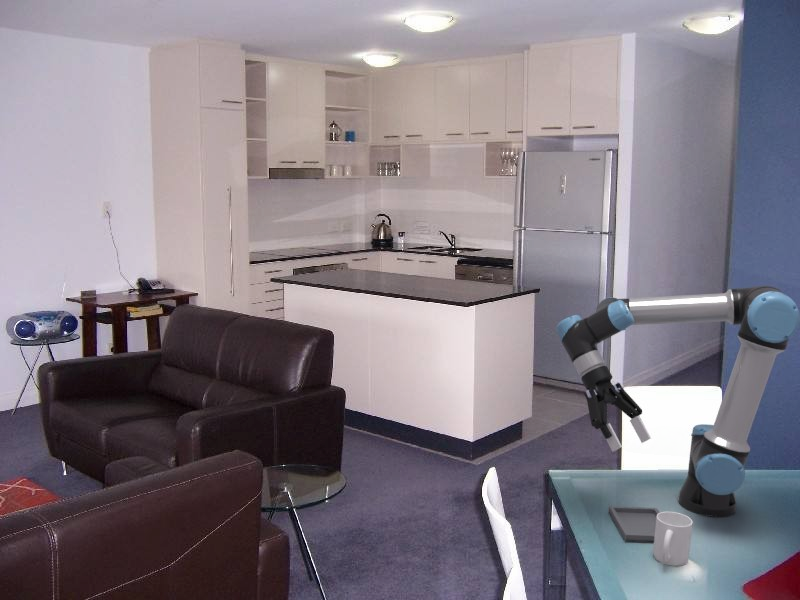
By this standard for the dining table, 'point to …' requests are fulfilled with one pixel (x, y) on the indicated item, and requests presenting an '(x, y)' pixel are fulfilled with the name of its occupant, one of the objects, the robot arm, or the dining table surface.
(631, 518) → the tray
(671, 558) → the mug
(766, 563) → the dining table surface
